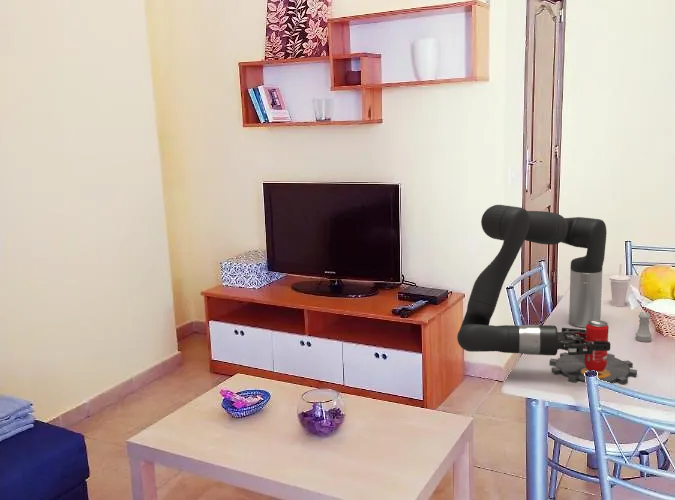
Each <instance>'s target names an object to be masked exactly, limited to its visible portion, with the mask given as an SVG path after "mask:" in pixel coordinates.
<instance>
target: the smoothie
mask: <svg viewBox="0 0 675 500" xmlns="http://www.w3.org/2000/svg"><path fill="white" fill-rule="evenodd" d="M622 267H623V266H622V264H621V263H620V264H619V272H618V273H619V274H614V275H610V276H609V281H610V292H611V301H612V306H614V307H617V308H618V307H619V308H620V307H625V305H626V299H627V294H628V293H627V292H628V288H629V285H630V284H629V282H630V281H631V277H630V276H628V275H623V274H622Z"/></svg>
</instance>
